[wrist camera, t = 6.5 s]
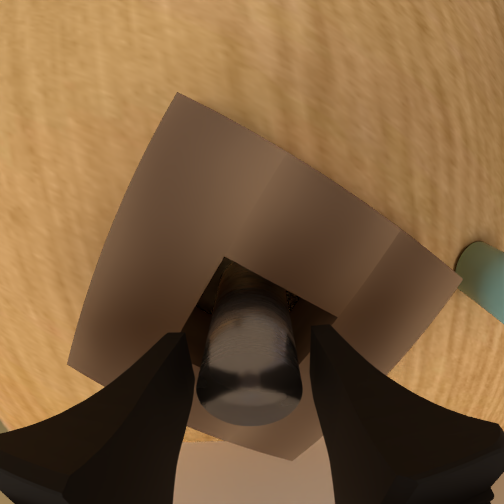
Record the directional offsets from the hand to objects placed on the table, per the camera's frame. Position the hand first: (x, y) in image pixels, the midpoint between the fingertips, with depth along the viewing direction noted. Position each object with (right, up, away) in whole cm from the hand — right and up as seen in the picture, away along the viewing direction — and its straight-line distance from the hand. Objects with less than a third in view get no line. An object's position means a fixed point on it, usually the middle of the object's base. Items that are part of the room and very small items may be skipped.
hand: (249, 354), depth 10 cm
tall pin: (0, +2, +5) cm, 5 cm away
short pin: (+12, +2, +4) cm, 13 cm away
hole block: (0, +2, +5) cm, 5 cm away
